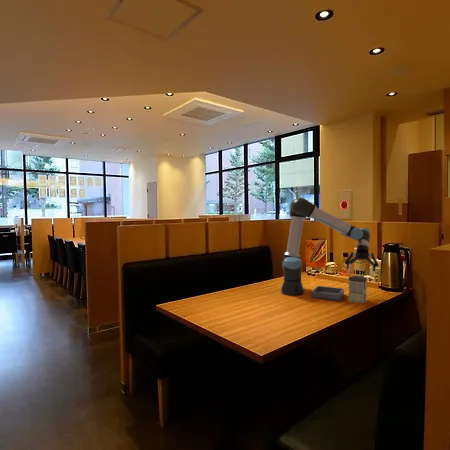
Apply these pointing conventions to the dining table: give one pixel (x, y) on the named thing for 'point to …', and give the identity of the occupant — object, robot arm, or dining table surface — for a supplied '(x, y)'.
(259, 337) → the dining table surface
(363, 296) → the coffee can
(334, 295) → the tray
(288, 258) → the robot arm
